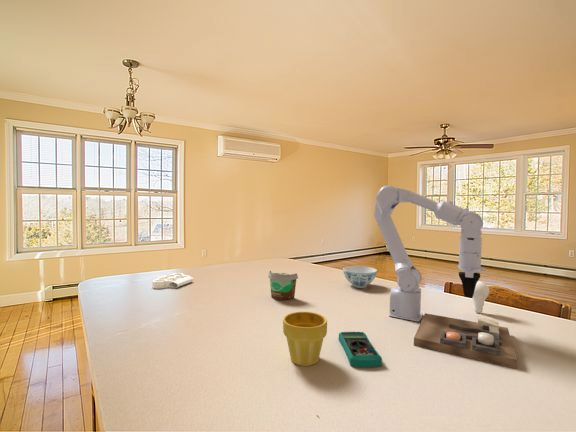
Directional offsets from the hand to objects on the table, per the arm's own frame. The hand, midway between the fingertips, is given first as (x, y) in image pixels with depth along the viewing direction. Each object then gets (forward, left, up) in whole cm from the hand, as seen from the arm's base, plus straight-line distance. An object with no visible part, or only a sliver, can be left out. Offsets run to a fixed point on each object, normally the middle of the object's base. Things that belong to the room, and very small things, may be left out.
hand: (468, 296), depth 95 cm
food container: (-63, -7, -10) cm, 64 cm away
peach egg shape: (-3, -19, -7) cm, 21 cm away
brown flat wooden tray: (-1, -11, -9) cm, 15 cm away
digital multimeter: (-23, -34, -10) cm, 42 cm away
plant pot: (-33, -44, -10) cm, 56 cm away
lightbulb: (+3, +17, -10) cm, 20 cm away
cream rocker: (+5, -4, -6) cm, 9 cm away
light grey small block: (+6, -12, -7) cm, 15 cm away
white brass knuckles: (-116, -15, -10) cm, 117 cm away
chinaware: (-43, +29, -10) cm, 53 cm away
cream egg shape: (+4, -19, -6) cm, 20 cm away
